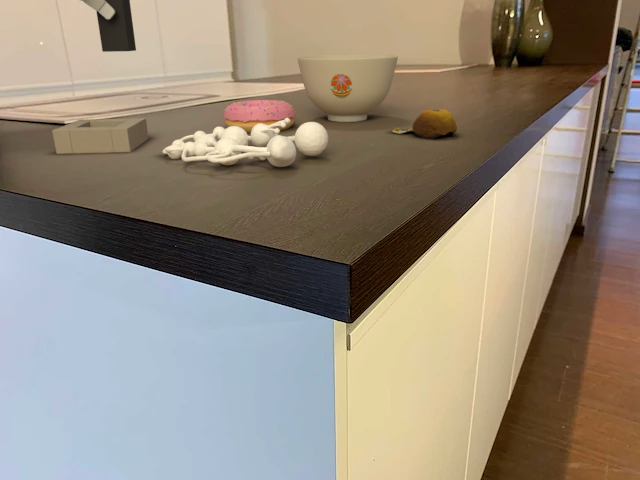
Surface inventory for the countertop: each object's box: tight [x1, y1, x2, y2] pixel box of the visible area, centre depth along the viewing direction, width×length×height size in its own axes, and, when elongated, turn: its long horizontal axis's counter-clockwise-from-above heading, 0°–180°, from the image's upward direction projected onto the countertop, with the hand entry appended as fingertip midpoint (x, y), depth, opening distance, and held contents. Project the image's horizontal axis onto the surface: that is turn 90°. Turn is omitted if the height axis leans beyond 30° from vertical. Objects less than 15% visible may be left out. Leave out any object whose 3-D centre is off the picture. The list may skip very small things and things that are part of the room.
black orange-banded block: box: [95, 0, 137, 53], centre depth 82 cm, size 4×4×9 cm
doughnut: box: [222, 98, 297, 134], centre depth 81 cm, size 11×11×4 cm
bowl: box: [297, 54, 399, 123], centre depth 88 cm, size 16×16×10 cm
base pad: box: [52, 117, 149, 155], centre depth 70 cm, size 9×9×3 cm
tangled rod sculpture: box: [162, 118, 329, 168], centre depth 61 cm, size 19×14×4 cm
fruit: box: [391, 108, 458, 140], centre depth 74 cm, size 8×8×4 cm
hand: (119, 16), depth 81 cm, fingers closed on black orange-banded block, 4 cm apart
